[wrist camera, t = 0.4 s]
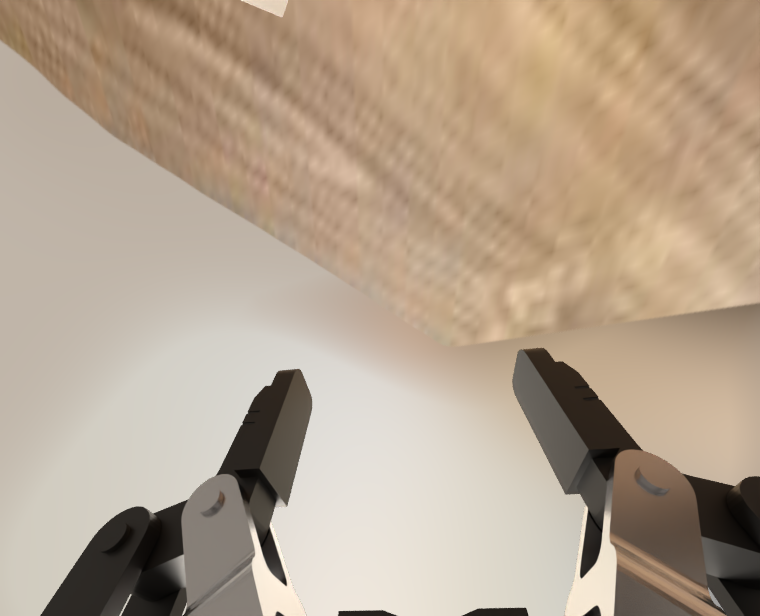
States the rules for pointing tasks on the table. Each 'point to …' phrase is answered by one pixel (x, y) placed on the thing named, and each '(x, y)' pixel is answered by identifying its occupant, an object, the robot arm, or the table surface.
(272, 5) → the cover
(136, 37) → the table surface
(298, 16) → the table surface
